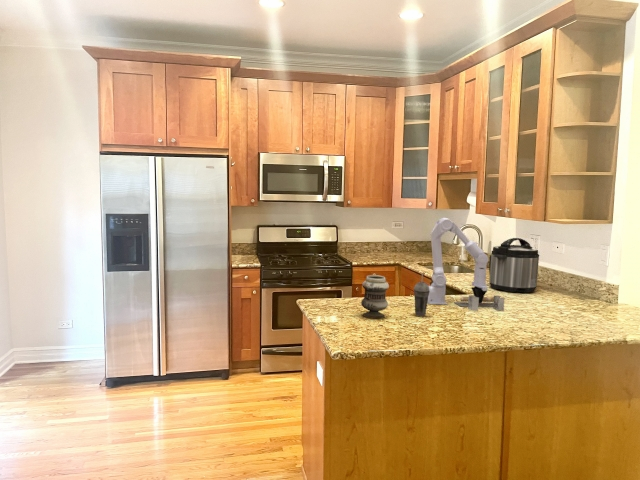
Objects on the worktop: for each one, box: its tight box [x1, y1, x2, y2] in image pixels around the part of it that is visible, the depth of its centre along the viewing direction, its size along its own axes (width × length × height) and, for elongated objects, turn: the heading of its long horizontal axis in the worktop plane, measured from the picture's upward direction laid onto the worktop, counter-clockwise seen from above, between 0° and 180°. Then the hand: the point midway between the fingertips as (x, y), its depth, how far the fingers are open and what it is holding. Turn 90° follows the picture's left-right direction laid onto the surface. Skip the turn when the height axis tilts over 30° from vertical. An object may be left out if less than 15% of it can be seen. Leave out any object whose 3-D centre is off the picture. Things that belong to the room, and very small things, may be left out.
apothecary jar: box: [360, 274, 390, 319], centre depth 210 cm, size 12×12×18 cm
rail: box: [459, 296, 494, 303], centre depth 239 cm, size 18×2×2 cm, turn 95°
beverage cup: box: [413, 272, 430, 318], centre depth 213 cm, size 7×7×20 cm
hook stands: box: [467, 294, 505, 312], centre depth 230 cm, size 16×5×6 cm, turn 95°
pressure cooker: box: [488, 237, 540, 294], centre depth 285 cm, size 30×28×32 cm
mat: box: [453, 301, 494, 308], centre depth 239 cm, size 22×8×1 cm, turn 95°
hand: (478, 302), depth 239 cm, fingers closed on rail, 2 cm apart
